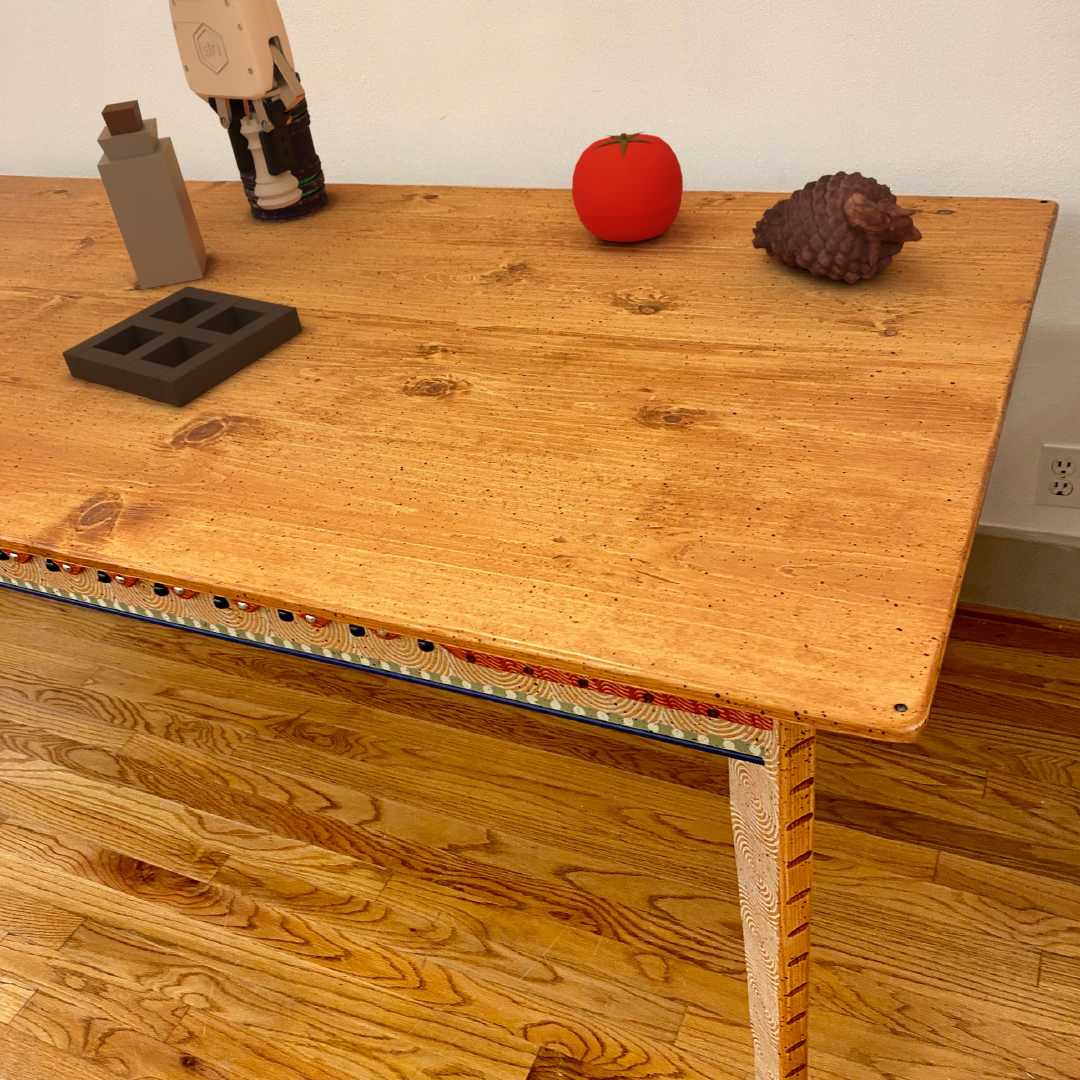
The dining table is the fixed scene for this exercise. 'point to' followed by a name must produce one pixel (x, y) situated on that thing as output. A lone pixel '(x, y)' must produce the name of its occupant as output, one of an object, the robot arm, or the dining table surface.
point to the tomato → (627, 187)
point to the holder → (183, 344)
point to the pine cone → (837, 227)
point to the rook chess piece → (268, 187)
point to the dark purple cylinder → (293, 171)
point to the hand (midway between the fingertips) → (267, 167)
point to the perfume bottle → (149, 198)
